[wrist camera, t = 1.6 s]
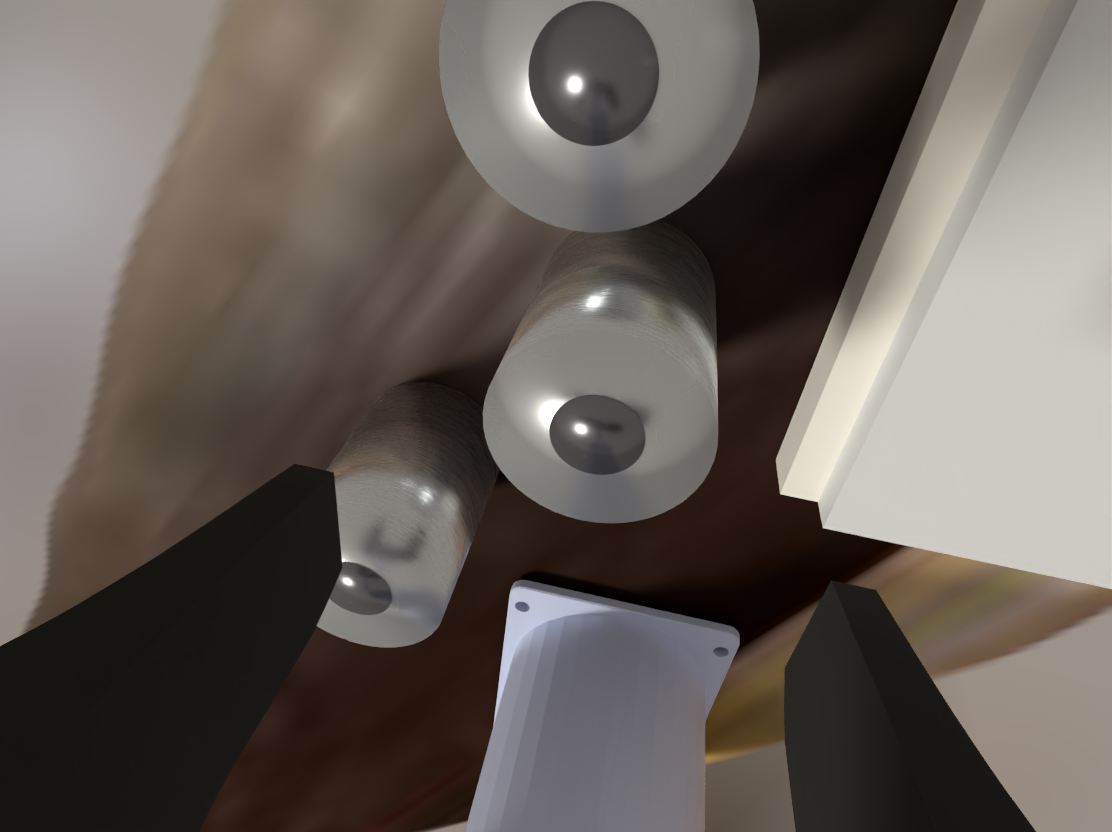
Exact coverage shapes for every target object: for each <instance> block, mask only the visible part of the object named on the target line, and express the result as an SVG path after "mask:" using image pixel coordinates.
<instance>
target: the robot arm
mask: <svg viewBox="0 0 1112 832" xmlns="http://www.w3.org/2000/svg"><path fill="white" fill-rule="evenodd" d="M341 570H342V556H341V545H340V534H339V522H338V511H337V499H336V488H335V477H334V472H330V471H325V470H320V469H316V468H311V467H307V466H302V465H297V464H294V465H292V466H291V467H289V468H288V469H286V470H285V471H283V472H282V473H280V474H279V475H277V476H276V477H274V478H273V479H271V480H270V481H268V482H267V483H265V484H264V485H262V486H261V487H259V488H258V489H257V490H255V491H254V492H252V493H251V494H249V495H248V496H246V497H245V498H243V499H242V500H240V501H239V502H238V503H236V504H235V505H233V506H232V507H230V508H229V509H227V510H226V511H224V512H223V513H221V514H220V515H219V516H217V517H216V518H214V519H213V520H211V521H210V522H208V523H207V524H205V525H204V526H202V527H201V528H199V529H198V530H196V531H195V532H193V533H192V534H190V535H189V536H187V537H186V538H184V539H182V540H181V541H179V542H178V543H176V544H175V545H173V546H172V547H170V548H169V549H167V550H166V551H164V552H163V553H161V554H160V555H158V556H157V557H155V558H153V559H152V560H150V561H149V562H147V563H146V564H144V565H142V566H141V567H139V568H137V569H136V570H134V571H132V572H131V573H129V574H128V575H126V576H124V577H123V578H121V579H119V580H118V581H116V582H114V583H113V584H111V585H109V586H108V587H106V588H104V589H103V590H101V591H99V592H98V593H96V594H94V595H93V596H91V597H89V598H88V599H86V600H84V601H83V602H81V603H79V604H78V605H76V606H74V607H72V608H71V609H69V610H67V611H65V612H63V613H62V614H60V615H58V616H56V617H55V618H53V619H51V620H49V621H47V622H45V623H44V624H42V625H40V626H38V627H36V628H34V629H33V630H31V631H29V632H27V633H25V634H23V635H21V636H19V637H17V638H15V639H13V640H12V641H9V642H7V643H6V644H4V645H2V646H0V832H199V830H200V828H201V826H202V824H203V822H204V820H205V818H206V816H207V814H208V812H209V810H210V808H211V806H212V804H213V802H214V800H215V798H216V796H217V795H218V793H219V791H220V789H221V787H222V786H223V784H224V782H225V780H226V778H227V776H228V775H229V773H230V771H231V769H232V768H233V766H234V764H235V763H236V761H237V759H238V758H239V756H240V754H241V753H242V751H243V749H244V748H245V746H246V744H247V743H248V741H249V739H250V738H251V736H252V734H253V733H254V731H255V729H256V728H257V726H258V724H259V723H260V721H261V719H262V718H263V716H264V714H265V713H266V711H267V709H268V708H269V706H270V705H271V703H272V701H273V700H274V698H275V696H276V695H277V693H278V691H279V690H280V688H281V686H282V685H283V683H284V681H285V680H286V678H287V676H288V675H289V673H290V671H291V670H292V668H293V666H294V664H295V663H296V661H297V659H298V658H299V656H300V654H301V653H302V651H303V649H304V648H305V646H306V644H307V643H308V641H309V639H310V637H311V636H312V634H313V632H314V630H315V629H316V626H317V624H318V622H319V620H320V618H321V615H322V613H323V611H324V609H325V607H326V605H327V602H328V600H329V598H330V596H331V593H332V591H333V589H334V586H335V584H336V582H337V579H338V577H339V575H340V572H341ZM523 602H525V603H523ZM739 644H740V634H739V632H738V630H736V629H735V628H734V627H731V626H729V625H724V624H720V623H716V622H711V621H707V620H702V619H698V618H693V617H689V616H684V615H680V614H675V613H671V612H667V611H662V610H658V609H653V608H649V607H644V606H640V605H635V604H631V603H626V602H622V601H618V600H613V599H609V598H604V597H600V596H595V595H591V594H586V593H582V592H577V591H573V590H569V589H564V588H560V587H555V586H551V585H546V584H542V583H537V582H533V581H528V580H519V581H516V582H515V583H513V586H512V588H511V592H510V597H509V605H508V613H507V621H506V630H505V638H504V646H503V654H502V662H501V670H500V678H499V686H498V694H497V702H496V710H495V718H494V727H493V730H492V734H491V738H490V741H489V745H488V749H487V753H486V756H485V760H484V764H483V767H482V771H481V775H480V778H479V782H478V786H477V789H476V793H475V797H474V800H473V804H472V808H471V811H470V815H469V819H468V822H467V826H466V830H465V832H705V721H706V719H707V717H708V714H709V712H710V710H711V708H712V705H713V703H714V701H715V699H716V696H717V694H718V692H719V690H720V687H721V685H722V683H723V681H724V679H725V676H726V674H727V672H728V670H729V667H730V665H731V663H732V661H733V658H734V656H735V654H736V652H737V649H738V647H739ZM784 714H785V746H786V755H787V763H788V772H789V780H790V788H791V797H792V805H793V812H794V820H795V828H796V832H1036V831H1035V830H1034V828H1033V827H1032V826H1031V824H1030V823H1029V821H1028V820H1027V819H1026V817H1025V816H1024V815H1023V813H1022V812H1021V811H1020V809H1019V808H1018V806H1017V805H1016V804H1015V802H1014V801H1013V800H1012V798H1011V797H1010V796H1009V794H1008V793H1007V791H1006V790H1005V789H1004V787H1003V786H1002V784H1001V783H1000V782H999V780H998V779H997V777H996V776H995V774H994V773H993V771H992V770H991V769H990V767H989V766H988V764H987V763H986V761H985V760H984V758H983V757H982V755H981V754H980V752H979V751H978V749H977V748H976V747H975V745H974V744H973V742H972V741H971V739H970V738H969V736H968V735H967V733H966V731H965V730H964V728H963V727H962V725H961V724H960V722H959V721H958V719H957V718H956V716H955V715H954V713H953V712H952V710H951V709H950V707H949V706H948V704H947V703H946V701H945V700H944V698H943V696H942V695H941V693H940V692H939V690H938V689H937V687H936V685H935V684H934V682H933V681H932V679H931V677H930V676H929V674H928V673H927V671H926V669H925V668H924V666H923V665H922V663H921V662H920V660H919V658H918V657H917V655H916V654H915V652H914V650H913V649H912V647H911V645H910V644H909V642H908V641H907V639H906V637H905V636H904V634H903V633H902V631H901V629H900V628H899V626H898V625H897V623H896V621H895V620H894V618H893V617H892V615H891V613H890V612H889V610H888V609H887V607H886V605H885V604H884V602H883V601H882V599H881V597H880V596H879V594H878V593H877V591H876V590H873V589H868V588H864V587H859V586H855V585H850V584H845V583H841V582H836V581H832V580H831V582H830V583H829V585H828V587H827V589H826V591H825V593H824V595H823V597H822V599H821V601H820V602H819V604H818V606H817V608H816V610H815V612H814V614H813V616H812V618H811V620H810V621H809V623H808V625H807V627H806V629H805V631H804V633H803V635H802V637H801V639H800V640H799V642H798V644H797V646H796V648H795V650H794V652H793V654H792V656H791V658H790V659H789V661H788V663H787V665H786V667H785V695H784Z"/></svg>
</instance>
